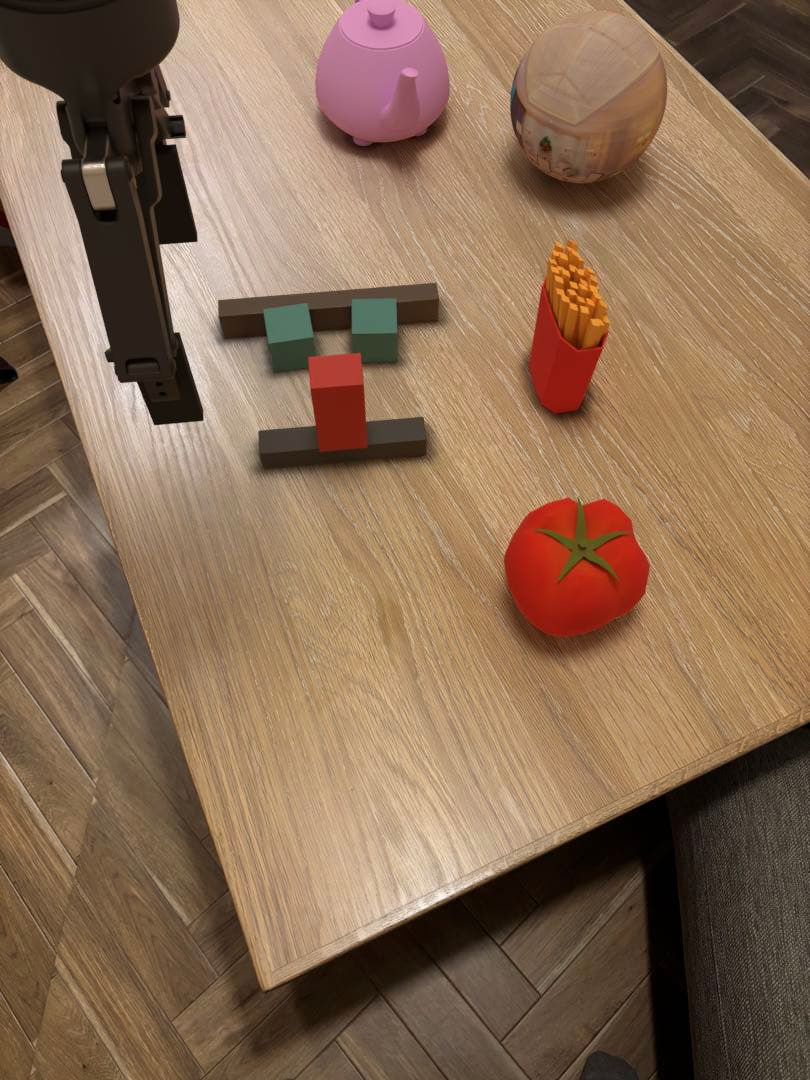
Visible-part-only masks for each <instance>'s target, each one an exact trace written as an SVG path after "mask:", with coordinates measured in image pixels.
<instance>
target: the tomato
mask: <svg viewBox="0 0 810 1080" xmlns="http://www.w3.org/2000/svg"><path fill="white" fill-rule="evenodd" d="M503 564H504V570H505V575H506V580H507V581H506V582H507V585H508V590H509V592H510V594H511V595H512V598H513V599H514V602H515V604H516V606H517V608H518V610H519V611H520V612H521V614H523V616H524V617H525V619H526V620H527V621H528V622H529V623H530V624H531V625H532V626H534V628H536V629H538V630H539V631H541V632H542V633H544V634H545V635H547V636H552V637H557V638H568V637H574V636H580V635H584V634H587V633H591V632H593V631H596V630H600V629H601V628H603V627H604V626H606V625H607V624H609V623H610V622H611V621H613V620H616V619H617V618H620V617H622V616H625V615H626V614H628V613H629V614H630V612H631V611H632V610H633V609H634V608H635V606H637V604H638V603H639V602H640V601H641V599H643V597H644V596H645V594H646V591H647V590H646V589H647V585H648V579H649V574H650V567H651V565H650V562H649V560H648V558H647V555H646V554H645V552H644V551H643V549H642V547H641V546H640V544H639V542H638V541H637V538H636V536H635V532H634V526H633V521H632V519H631V518H630V517H629V516H628V515H627V514H626V512H624V510H623V509H622V508H621V507H620V506H619V505H617V504H615V503H613V502H611V501H610V500H608V499H605V498H601V499H598V500H594V501H591V502H587V503H584V504H582V501H581V499H580V497H579V496H577V501H575V499H572V498H570V497H564V498H561V499H556V500H554V501H549V502H547V503H545V504H543V505H541V506H539V507H538V508H535V509H534V510H532V511H530V512H528V513H527V515H525V517H524V518H523V520H522V521H521V523H520V524H519V525H518V527H517V528H516V530H515V531H514V533H513V534H512V537H511V538H510V541H509V544H508V545H507V548H506V550H505V552H504V556H503Z"/></svg>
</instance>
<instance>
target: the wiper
mask: <svg viewBox="0 0 810 1080" xmlns="http://www.w3.org/2000/svg"><path fill="white" fill-rule="evenodd" d="M308 364H309V367H308V377H309V378H308V379H309V389H310V390H309V391H310V397H311V404H312V410H313V416H314V423H315V425H309V426H297V427H284V428H283V427H282V428H273V429H272V428H271V429H262V430H261V429H260V430H258V433H257V435H258V454H259V458H260V462H261V466H262V469H264V470H268V469H279V468H280V469H281V468H290V467H303V466H313V465H315V466H316V465H325V464H335V463H337V464H338V463H348V462H359V461H360V462H361V461H372V460H380V459H381V460H383V459H384V460H385V459H394V458H395V459H396V458H406V457H407V458H408V457H419V456H426V455H427V442H428V440H427V433H426V432H427V431H426V424H425V418H424V416H415V417H404V418H391V419H381V420H368V421H367V415H366V414H367V413H366V397H365V382H364V373H363V371H364V370H363V363H362V361H361V353H353V352H352V353H343V354H329V355H328V354H327V355H316V356H315V357H308Z"/></svg>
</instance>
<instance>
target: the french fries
mask: <svg viewBox="0 0 810 1080" xmlns="http://www.w3.org/2000/svg"><path fill="white" fill-rule="evenodd" d="M578 249H579V244H578V243H577V242H575V241H573V240H571V239H569V238H567V239H566V246H565V249H564V245H563V244H562V243H560V242H558V241H556V240H555V241H554V248H553V249H551V258H549V257H547V263H546V264H547V265H546V276H545V279H544V280H543V282H542V284H541V285H542V286H541V290H540V294H539V301H538V307H537V312H536V313H537V314H536V318H535V319H536V320H535V326H534V332H533V337H532V343H531V349H530V356H529V360H528V361H529V362H528V369H529V372H530V376H531V379H532V383H533V386H534V389H535V392H536V395H537V398H538V400H539V403H540V405H541V406H543V407H545V408H546V409H547V410H549V411H551V412H552V413H554V414H561V413H567V412H568V413H569V412H574V411H578V409H579V407H580V405H581V404H582V402H583V400H584V398H585V396H586V393H587V390H588V388H589V385H590V383H591V380H592V377H593V375H594V372H595V370H596V367H597V364H598V363H599V362H598V361H599V360H600V358H601V354H602V351H603V350H604V346H605V345H606V341H607V339H608V336H609V334H610V331H609V328H610V326H611V322H610V320H609V318H608V316H607V315H608V306H607V303H606V302H605V301H603V299H604V298H603V297H602V296H601V295H600V293H599V292H600V287H599V282H598V278H597V277H596V273H595V271H594V270H593V268H592V267H589V266H587V265H586V266H585V260H584V259H583V258H582V256H580V255H579V253H578ZM584 267H585V268H584Z"/></svg>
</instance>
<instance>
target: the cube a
mask: <svg viewBox="0 0 810 1080" xmlns="http://www.w3.org/2000/svg"><path fill="white" fill-rule="evenodd" d="M263 313H264V319H265V326H266V332H267V335H266V337H267V344H268V350H269V355H270V359H271V364H272V368H273V372H274V373H279V372H280V373H281V372H286V371H293V370H299V369H306V368H307V369H308V368H309V364H308V357H315V356H317V348H316V342H315V334H314V331H313V329H312V324H311V318H310V313H309V308H308V304H307V303H304V304H297V305H290V306H283V307H276V308H269V309H263Z"/></svg>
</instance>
